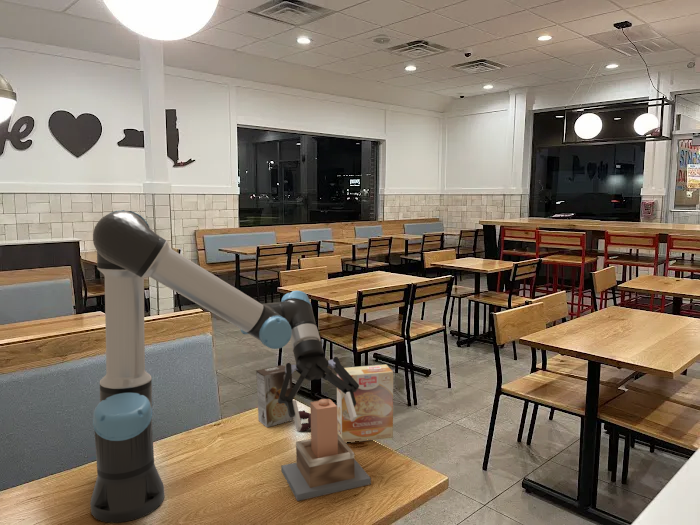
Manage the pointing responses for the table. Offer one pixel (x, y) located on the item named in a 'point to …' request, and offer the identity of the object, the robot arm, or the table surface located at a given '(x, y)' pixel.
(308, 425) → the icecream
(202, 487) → the table surface
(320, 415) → the block
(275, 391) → the coffee box
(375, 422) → the coffeecake box
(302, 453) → the brown square box
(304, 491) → the base board
